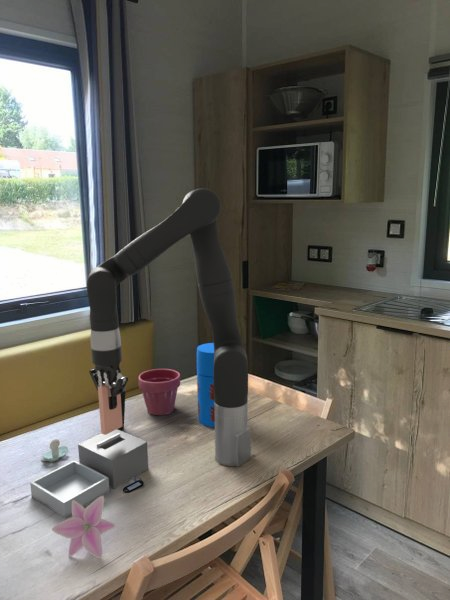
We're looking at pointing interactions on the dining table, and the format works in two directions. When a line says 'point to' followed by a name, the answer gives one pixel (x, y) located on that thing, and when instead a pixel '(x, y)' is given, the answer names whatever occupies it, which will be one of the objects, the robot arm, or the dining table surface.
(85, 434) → the dining table surface
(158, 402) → the plant pot
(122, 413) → the drinking cup
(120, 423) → the tall pink plank
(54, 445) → the pacifier
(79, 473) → the bin
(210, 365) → the thermos
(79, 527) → the lily
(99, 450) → the dispenser
